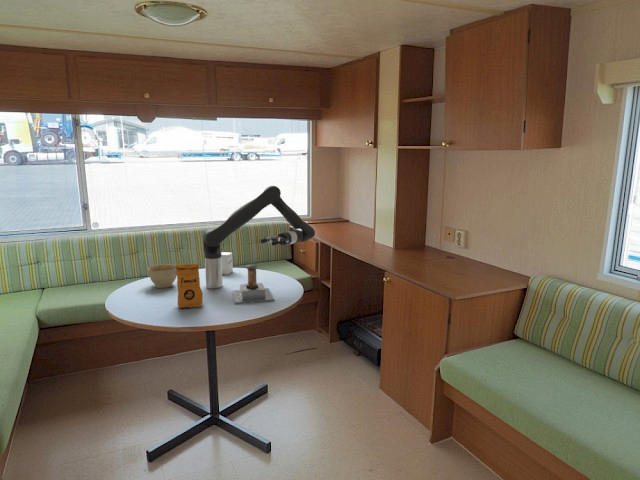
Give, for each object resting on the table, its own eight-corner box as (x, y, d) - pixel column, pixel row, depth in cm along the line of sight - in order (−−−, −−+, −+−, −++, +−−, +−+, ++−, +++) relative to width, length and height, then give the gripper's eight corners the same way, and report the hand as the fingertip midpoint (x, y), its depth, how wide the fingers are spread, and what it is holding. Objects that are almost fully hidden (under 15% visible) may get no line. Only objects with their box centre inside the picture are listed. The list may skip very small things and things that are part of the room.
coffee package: (202, 308, 225) (200, 265, 221) (176, 310, 223) (173, 266, 219) (204, 302, 235) (202, 260, 231) (179, 303, 233) (176, 261, 229)
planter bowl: (177, 289, 257) (176, 270, 254) (147, 291, 253) (146, 272, 251) (179, 281, 272) (178, 263, 270) (150, 282, 268) (149, 264, 266)
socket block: (235, 304, 232) (234, 294, 231) (232, 292, 251) (231, 282, 250) (274, 301, 237) (273, 291, 236) (268, 289, 256) (268, 280, 255)
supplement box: (228, 274, 286) (228, 255, 284) (217, 273, 288) (216, 254, 285) (233, 271, 293) (232, 252, 291) (222, 270, 295) (221, 251, 292)
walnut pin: (247, 296, 241) (247, 267, 238) (246, 293, 246) (246, 264, 243) (258, 295, 242) (257, 266, 239) (257, 292, 247) (256, 264, 244)
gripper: (278, 230, 263) (257, 234, 250) (296, 233, 254) (275, 237, 242) (278, 242, 264) (257, 247, 252) (296, 246, 255) (276, 251, 243)
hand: (266, 242), depth 247 cm, fingers open, 8 cm apart
